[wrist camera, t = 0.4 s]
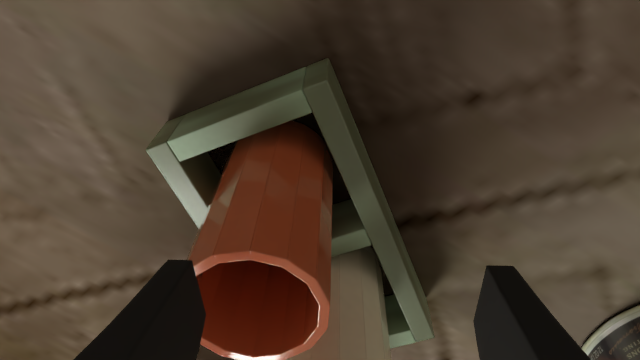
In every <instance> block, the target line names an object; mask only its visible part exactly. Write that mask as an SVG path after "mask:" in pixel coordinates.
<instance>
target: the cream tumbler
mask: <svg viewBox="0 0 640 360" xmlns="http://www.w3.org/2000/svg"><path fill="white" fill-rule="evenodd" d="M287 360H391V352H390V343H389V334H388V325H387V316H386V308H385V299H384V290H383V281H382V273H381V269H380V264H379V260H378V257H377V255H376V253H375V252H374V251H373V249H372V248H371V247H370V246H367V247H364V248H360V249H357V250H353V251H350V252H347V253H343V254H340V255H336V256H333V257H331V300H330V314H329V324H328V328H327V330H326V332H325V333H324V334H323V335H322V336H321V337H320V339H319V340H318V341H317V342H316V343H315V345H314V346H313V347H312V348H311V349H309V350H307V351H305V352H302V353H300V354H298V355H296V356H293V357H291V358H289V359H287Z"/></svg>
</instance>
